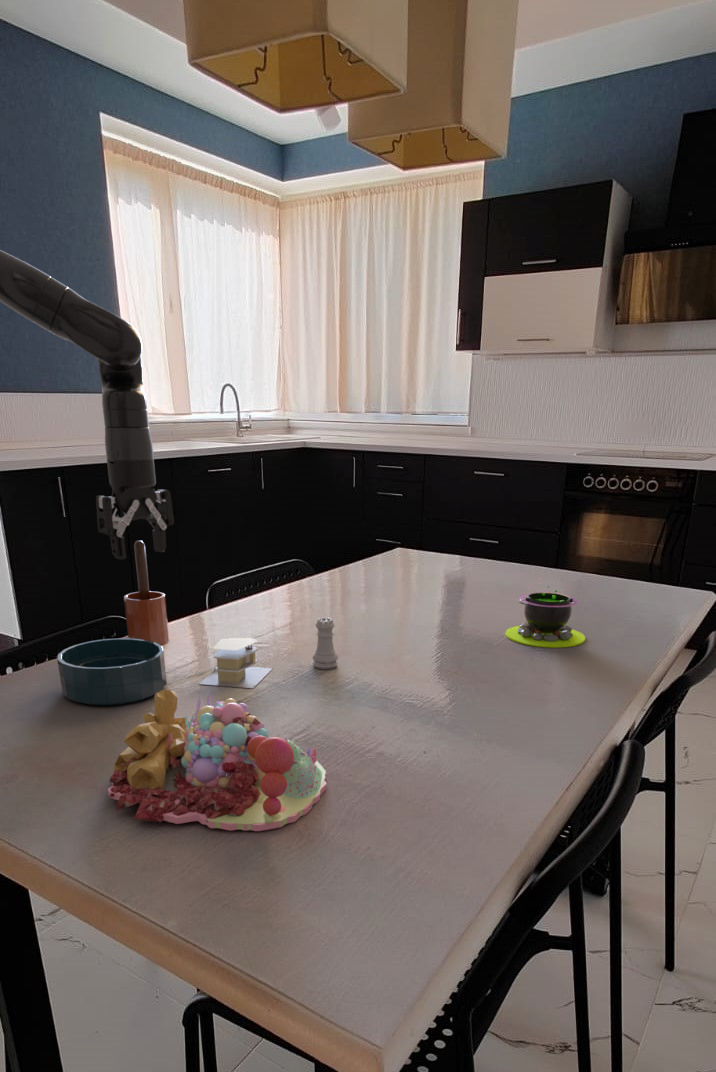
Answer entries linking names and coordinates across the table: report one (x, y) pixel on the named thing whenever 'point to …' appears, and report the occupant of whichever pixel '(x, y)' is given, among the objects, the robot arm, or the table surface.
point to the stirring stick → (142, 570)
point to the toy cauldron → (546, 621)
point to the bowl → (112, 671)
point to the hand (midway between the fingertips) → (140, 555)
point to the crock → (147, 617)
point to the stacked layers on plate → (236, 664)
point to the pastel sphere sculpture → (214, 769)
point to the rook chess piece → (325, 645)
